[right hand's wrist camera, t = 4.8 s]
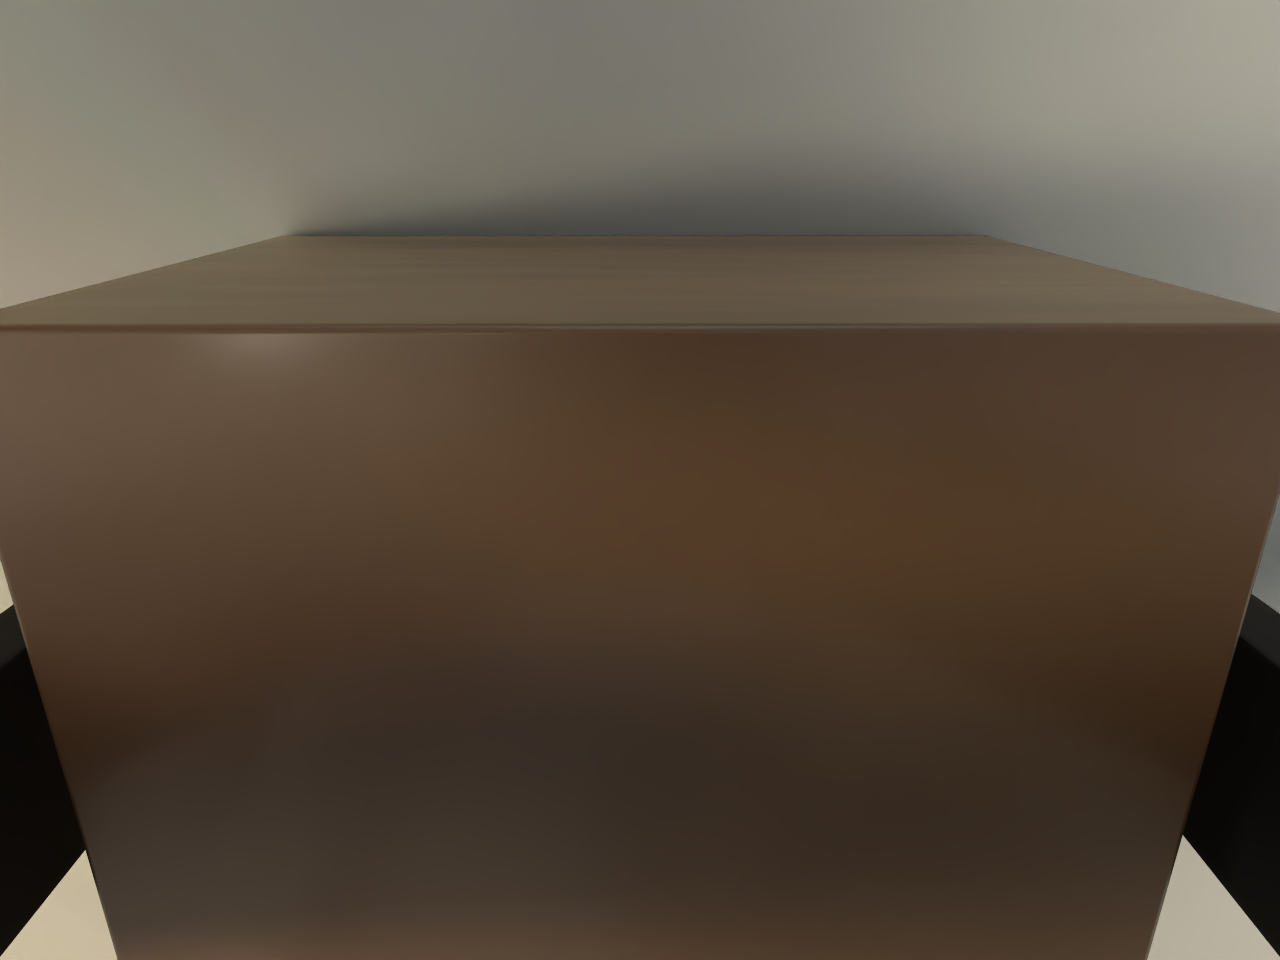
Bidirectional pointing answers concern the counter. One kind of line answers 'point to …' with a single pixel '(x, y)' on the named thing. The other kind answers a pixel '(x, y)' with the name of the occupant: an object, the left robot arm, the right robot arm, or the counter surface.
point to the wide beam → (634, 592)
